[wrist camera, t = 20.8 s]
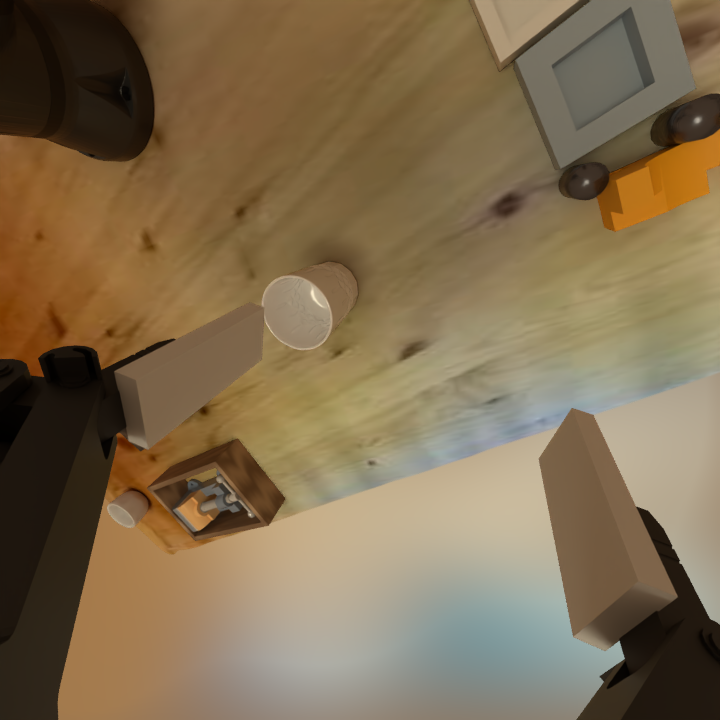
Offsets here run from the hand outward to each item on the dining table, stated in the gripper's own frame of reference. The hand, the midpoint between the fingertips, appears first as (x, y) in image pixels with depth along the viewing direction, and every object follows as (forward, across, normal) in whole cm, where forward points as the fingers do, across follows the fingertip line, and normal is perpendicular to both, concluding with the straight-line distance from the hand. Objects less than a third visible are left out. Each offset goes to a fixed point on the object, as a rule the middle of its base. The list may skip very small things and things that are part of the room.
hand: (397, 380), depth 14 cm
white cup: (+27, +13, +7) cm, 31 cm away
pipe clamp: (+27, -16, -12) cm, 33 cm away
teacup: (+27, +54, +74) cm, 95 cm away
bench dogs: (+27, -11, -12) cm, 31 cm away
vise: (+27, +29, +55) cm, 68 cm away
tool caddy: (+27, +29, +53) cm, 66 cm away
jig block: (+27, -6, -16) cm, 32 cm away
